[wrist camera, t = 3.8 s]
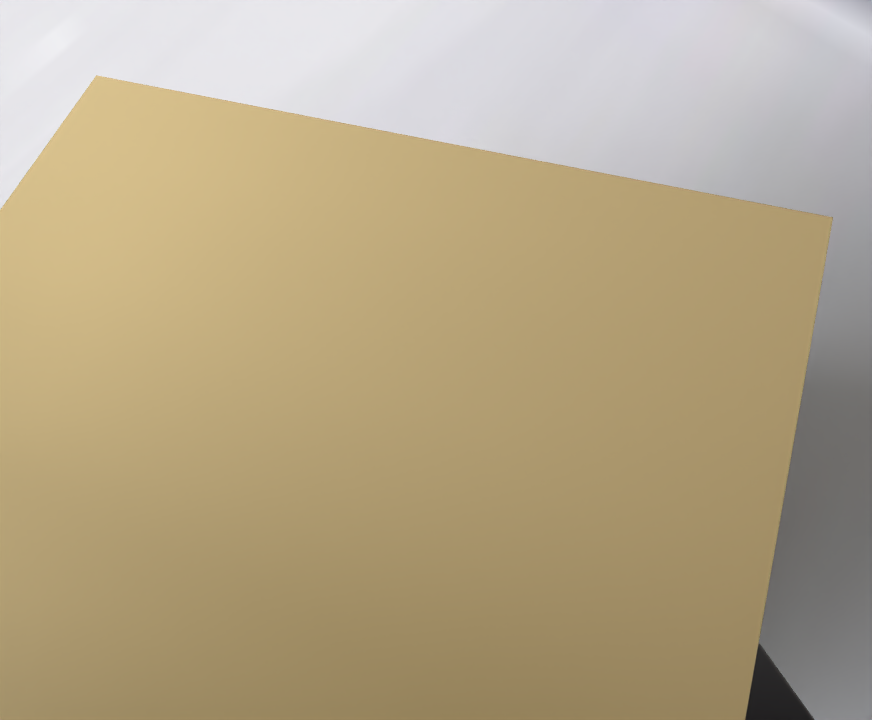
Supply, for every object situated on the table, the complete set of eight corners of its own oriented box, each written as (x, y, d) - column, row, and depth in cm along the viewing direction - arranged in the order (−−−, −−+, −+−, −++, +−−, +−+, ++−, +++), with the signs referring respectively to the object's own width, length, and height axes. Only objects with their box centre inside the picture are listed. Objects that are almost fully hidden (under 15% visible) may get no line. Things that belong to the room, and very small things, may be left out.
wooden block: (551, 876, 13) (604, 1515, 2) (292, 762, 14) (-446, 835, 4) (622, 590, 15) (831, 216, 4) (389, 513, 16) (96, 75, 5)
